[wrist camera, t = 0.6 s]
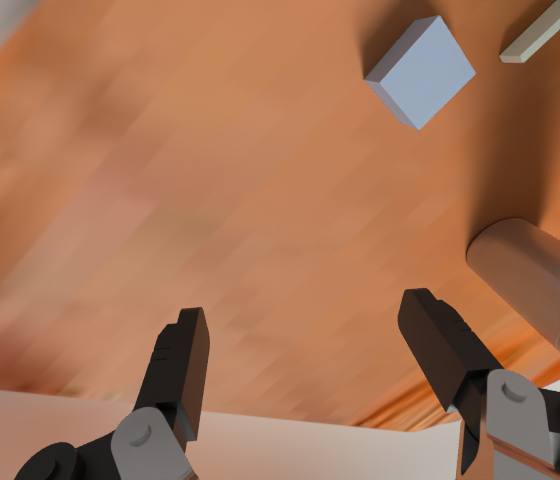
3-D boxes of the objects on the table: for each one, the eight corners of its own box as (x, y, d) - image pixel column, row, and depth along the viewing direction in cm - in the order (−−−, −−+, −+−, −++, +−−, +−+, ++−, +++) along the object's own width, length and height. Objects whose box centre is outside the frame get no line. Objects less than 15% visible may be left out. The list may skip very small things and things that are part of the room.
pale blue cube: (448, 71, 28) (476, 73, 25) (399, 122, 30) (418, 130, 27) (413, 20, 25) (439, 15, 22) (362, 79, 28) (379, 82, 24)
